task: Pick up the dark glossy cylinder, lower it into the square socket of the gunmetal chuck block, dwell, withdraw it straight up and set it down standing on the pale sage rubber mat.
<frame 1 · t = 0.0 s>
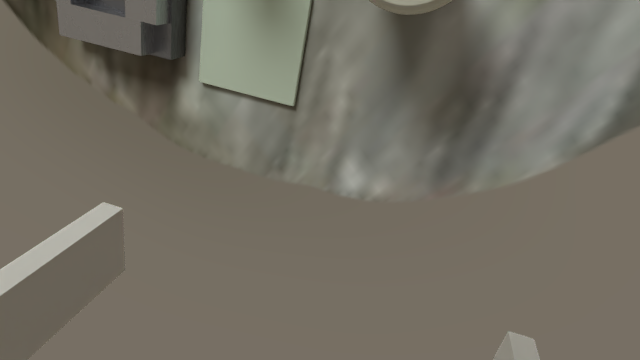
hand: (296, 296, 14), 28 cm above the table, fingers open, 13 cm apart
mat: (253, 41, 39), on the table
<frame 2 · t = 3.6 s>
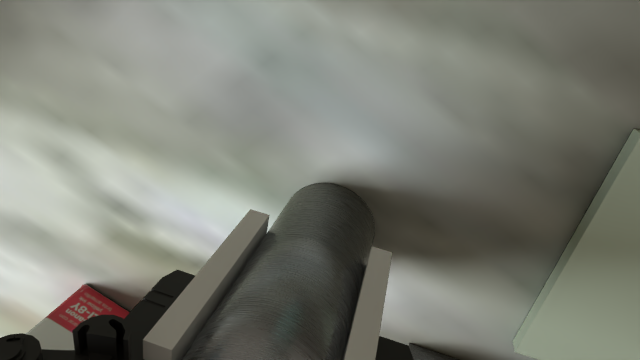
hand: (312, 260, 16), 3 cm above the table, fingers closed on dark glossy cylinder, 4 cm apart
dark glossy cylinder: (328, 225, 18), on the table, touching gripper
ink box: (103, 340, 26), on the table
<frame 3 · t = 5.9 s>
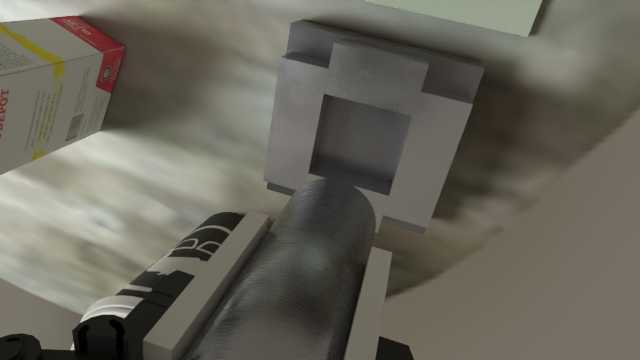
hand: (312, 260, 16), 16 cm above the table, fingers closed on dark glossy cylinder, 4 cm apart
chuck block: (367, 125, 30), on the table
dark glossy cylinder: (330, 219, 18), point 13 cm above the table, touching gripper
coffee cup 2: (235, 242, 38), on the table
ink box: (89, 75, 34), on the table
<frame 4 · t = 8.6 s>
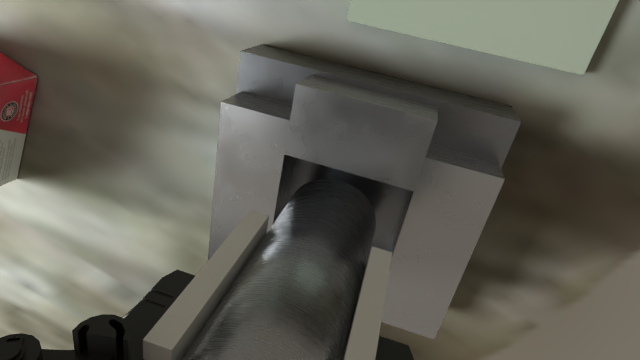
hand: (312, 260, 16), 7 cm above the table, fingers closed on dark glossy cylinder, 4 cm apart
chuck block: (352, 185, 22), on the table
dark glossy cylinder: (330, 219, 18), point 4 cm above the table, touching gripper
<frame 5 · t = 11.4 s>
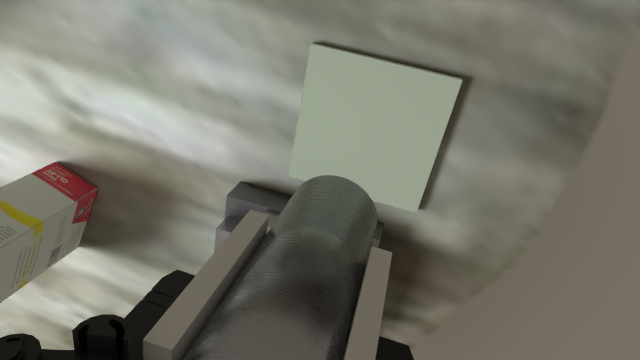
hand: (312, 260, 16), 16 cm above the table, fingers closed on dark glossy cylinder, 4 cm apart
chuck block: (298, 261, 36), on the table
dark glossy cylinder: (332, 215, 19), point 12 cm above the table, touching gripper
ink box: (69, 204, 40), on the table
mat: (367, 130, 30), on the table
when the fingers open (4 cm above the table, at t = 13.6 s): dark glossy cylinder stays where it is, resting on mat.
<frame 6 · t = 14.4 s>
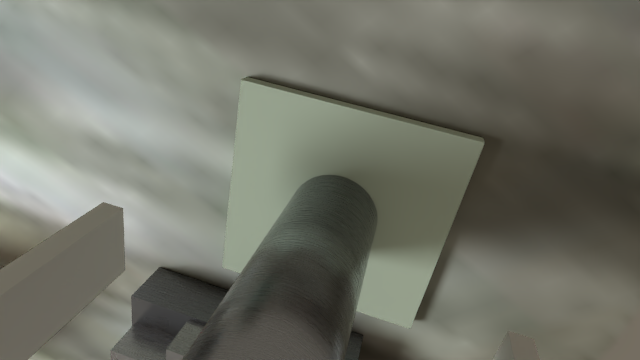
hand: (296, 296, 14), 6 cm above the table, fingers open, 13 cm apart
dark glossy cylinder: (333, 215, 19), point 1 cm above the table, touching mat
mat: (335, 208, 19), on the table
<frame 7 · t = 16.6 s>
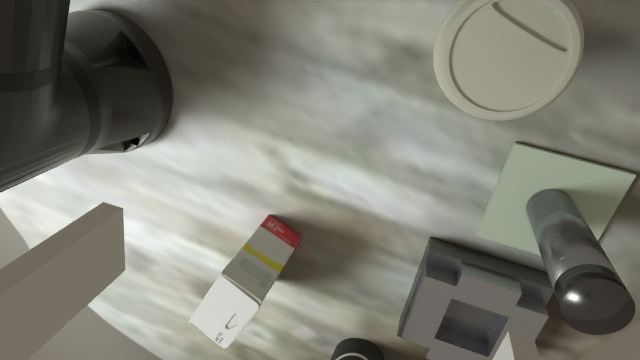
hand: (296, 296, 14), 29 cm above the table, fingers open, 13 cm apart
chuck block: (468, 299, 45), on the table
dark glossy cylinder: (549, 208, 38), point 1 cm above the table, touching mat
coffee cup: (490, 37, 35), on the table
coffee cup 2: (359, 356, 53), on the table
ink box: (270, 247, 50), on the table
mat: (548, 205, 39), on the table
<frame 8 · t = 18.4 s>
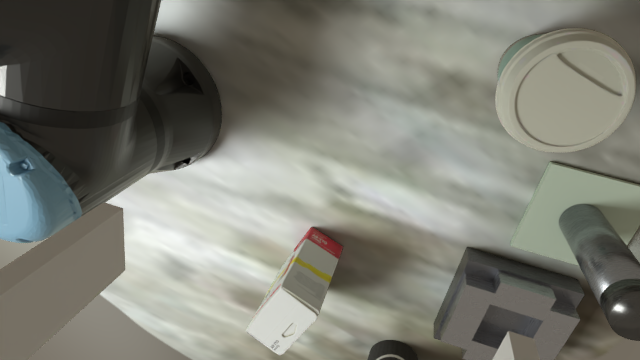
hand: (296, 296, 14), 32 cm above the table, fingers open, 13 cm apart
chuck block: (500, 303, 49), on the table
dark glossy cylinder: (580, 221, 42), point 1 cm above the table, touching mat
coffee cup: (531, 67, 38), on the table
coffee cup 2: (393, 357, 57), on the table
ink box: (311, 256, 53), on the table
mat: (579, 218, 42), on the table
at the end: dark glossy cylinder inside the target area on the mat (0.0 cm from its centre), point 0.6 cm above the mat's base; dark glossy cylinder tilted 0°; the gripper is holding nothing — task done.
